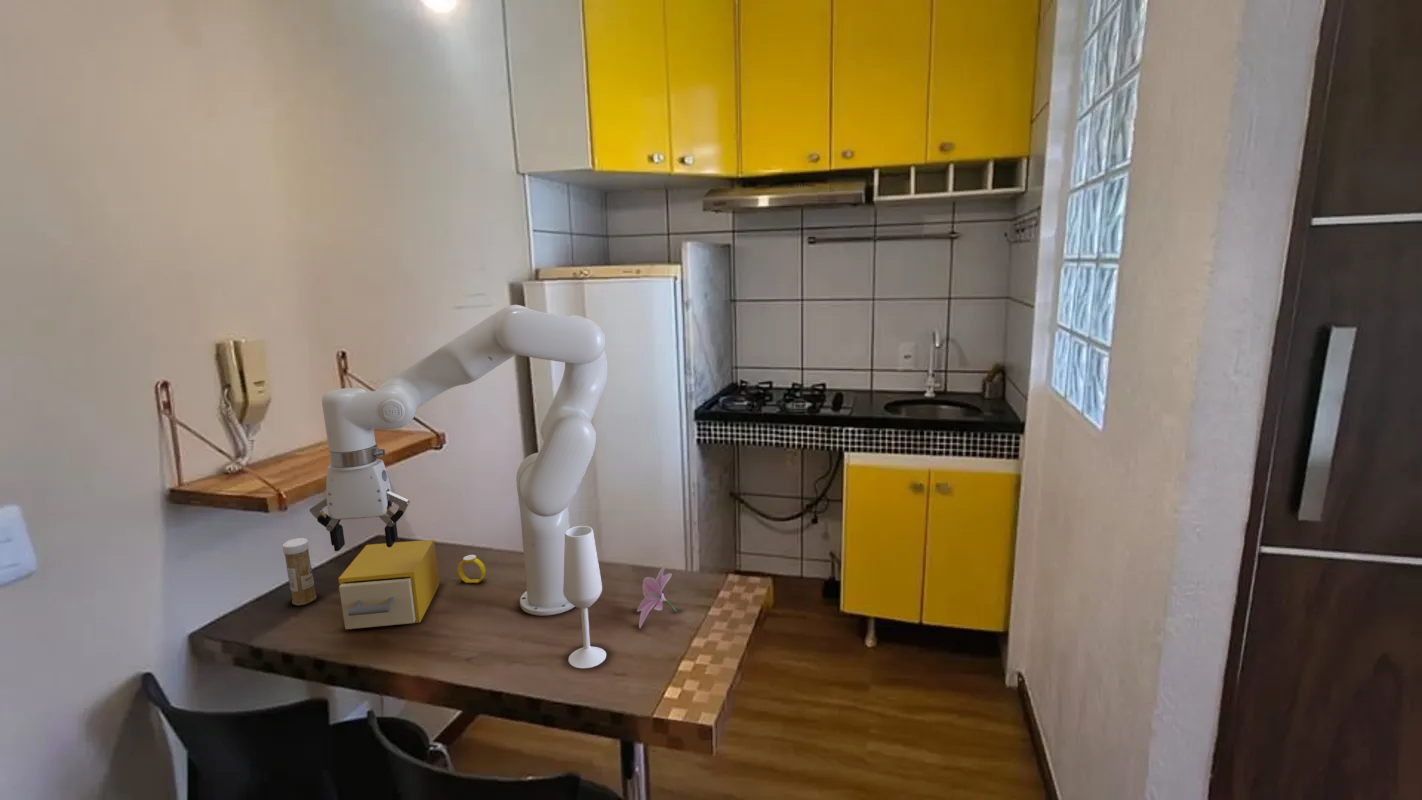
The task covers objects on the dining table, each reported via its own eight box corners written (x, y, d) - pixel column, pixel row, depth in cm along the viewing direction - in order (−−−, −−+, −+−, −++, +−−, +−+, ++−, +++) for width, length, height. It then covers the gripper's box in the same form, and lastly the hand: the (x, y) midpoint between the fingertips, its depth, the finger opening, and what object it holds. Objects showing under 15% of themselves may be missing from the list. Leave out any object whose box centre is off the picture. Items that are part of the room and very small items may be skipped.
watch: (488, 580, 150) (486, 555, 149) (482, 585, 148) (479, 560, 146) (463, 578, 151) (461, 553, 150) (457, 584, 149) (454, 559, 148)
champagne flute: (599, 669, 117) (590, 540, 112) (562, 666, 118) (552, 538, 113) (611, 648, 123) (604, 524, 118) (576, 645, 124) (567, 522, 119)
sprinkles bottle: (317, 602, 142) (308, 542, 139) (292, 608, 140) (282, 548, 137) (316, 593, 146) (307, 535, 143) (291, 599, 143) (281, 540, 141)
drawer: (407, 635, 127) (401, 592, 125) (336, 642, 125) (329, 598, 123) (432, 587, 145) (428, 549, 144) (370, 593, 144) (365, 554, 142)
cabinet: (420, 622, 133) (413, 572, 131) (345, 629, 131) (338, 578, 129) (439, 585, 148) (434, 539, 146) (373, 591, 147) (366, 544, 144)
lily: (649, 600, 142) (626, 568, 138) (699, 584, 138) (676, 552, 135) (639, 646, 132) (613, 613, 128) (691, 631, 128) (667, 597, 124)
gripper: (410, 448, 127) (420, 534, 130) (311, 453, 124) (324, 541, 128) (398, 459, 119) (409, 551, 123) (292, 466, 117) (307, 558, 121)
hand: (365, 546), depth 125 cm, fingers open, 8 cm apart
